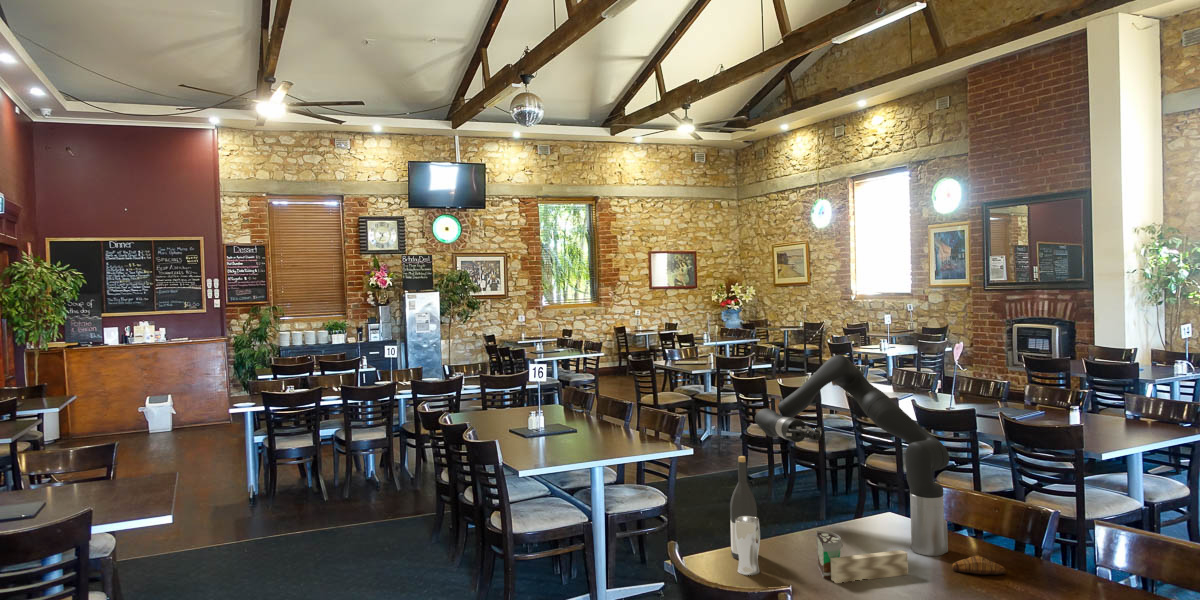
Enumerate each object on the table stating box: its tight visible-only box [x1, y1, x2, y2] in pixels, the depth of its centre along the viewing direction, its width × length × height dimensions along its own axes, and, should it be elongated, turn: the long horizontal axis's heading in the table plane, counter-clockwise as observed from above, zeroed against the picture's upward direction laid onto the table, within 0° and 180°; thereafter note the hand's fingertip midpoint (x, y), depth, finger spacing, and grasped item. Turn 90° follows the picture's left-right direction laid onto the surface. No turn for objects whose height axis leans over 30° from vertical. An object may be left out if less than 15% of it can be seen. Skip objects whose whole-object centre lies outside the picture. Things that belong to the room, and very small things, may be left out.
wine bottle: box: [729, 455, 758, 560], centre depth 221 cm, size 8×8×30 cm
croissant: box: [951, 554, 1006, 576], centre depth 203 cm, size 14×7×5 cm, turn 75°
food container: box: [815, 530, 844, 579], centre depth 206 cm, size 12×6×10 cm, turn 173°
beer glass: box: [735, 516, 761, 576], centre depth 209 cm, size 7×7×15 cm
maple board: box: [830, 550, 909, 584], centre depth 202 cm, size 22×2×6 cm, turn 102°
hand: (817, 436), depth 230 cm, fingers closed
